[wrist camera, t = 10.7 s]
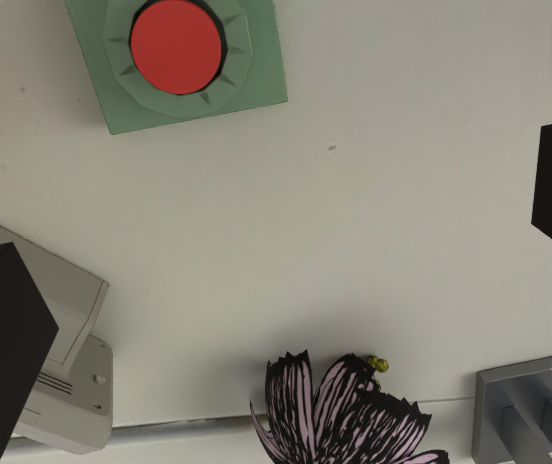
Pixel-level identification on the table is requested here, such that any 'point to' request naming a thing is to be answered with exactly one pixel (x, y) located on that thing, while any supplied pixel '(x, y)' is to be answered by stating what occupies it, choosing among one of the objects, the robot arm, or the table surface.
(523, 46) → the table surface
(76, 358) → the digital clock
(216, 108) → the button box
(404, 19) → the table surface
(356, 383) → the decorative flower
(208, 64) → the button
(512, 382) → the bracket
